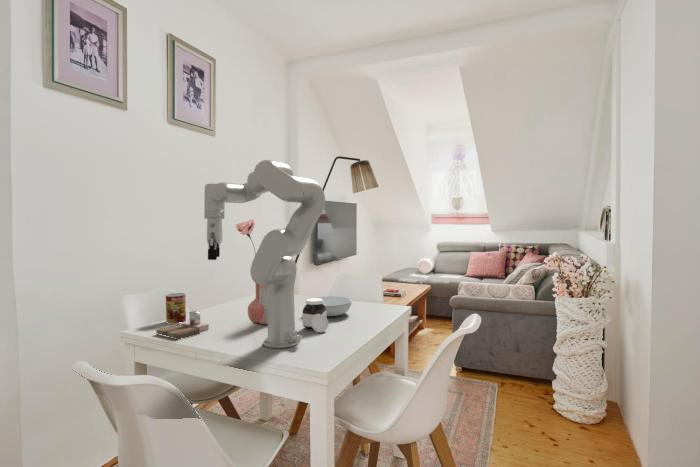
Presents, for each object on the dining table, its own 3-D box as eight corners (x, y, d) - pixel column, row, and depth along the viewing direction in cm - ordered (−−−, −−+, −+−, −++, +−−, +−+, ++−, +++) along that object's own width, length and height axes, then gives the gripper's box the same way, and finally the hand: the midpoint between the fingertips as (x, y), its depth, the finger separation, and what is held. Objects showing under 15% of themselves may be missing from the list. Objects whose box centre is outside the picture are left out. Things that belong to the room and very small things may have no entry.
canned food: (176, 324, 166) (175, 296, 165) (162, 323, 168) (161, 295, 168) (189, 320, 173) (189, 293, 173) (176, 318, 176) (175, 292, 175)
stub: (208, 329, 157) (208, 312, 156) (197, 332, 152) (196, 314, 152) (193, 325, 162) (192, 309, 162) (181, 329, 157) (181, 311, 157)
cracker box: (271, 325, 162) (270, 275, 162) (258, 324, 164) (257, 275, 163) (286, 317, 176) (285, 271, 175) (273, 316, 177) (273, 271, 177)
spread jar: (314, 324, 164) (314, 296, 163) (336, 327, 158) (336, 299, 157) (296, 331, 153) (296, 301, 153) (319, 335, 147) (319, 304, 147)
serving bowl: (297, 316, 178) (297, 301, 177) (326, 308, 195) (325, 294, 195) (333, 322, 166) (333, 306, 166) (360, 313, 183) (360, 298, 183)
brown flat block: (199, 333, 151) (199, 328, 151) (178, 340, 143) (178, 334, 143) (177, 329, 158) (177, 323, 158) (156, 334, 150) (156, 329, 150)
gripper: (222, 215, 145) (221, 261, 146) (226, 215, 162) (225, 255, 162) (200, 215, 143) (200, 260, 144) (207, 214, 160) (206, 255, 161)
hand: (213, 258), depth 153 cm, fingers open, 9 cm apart
